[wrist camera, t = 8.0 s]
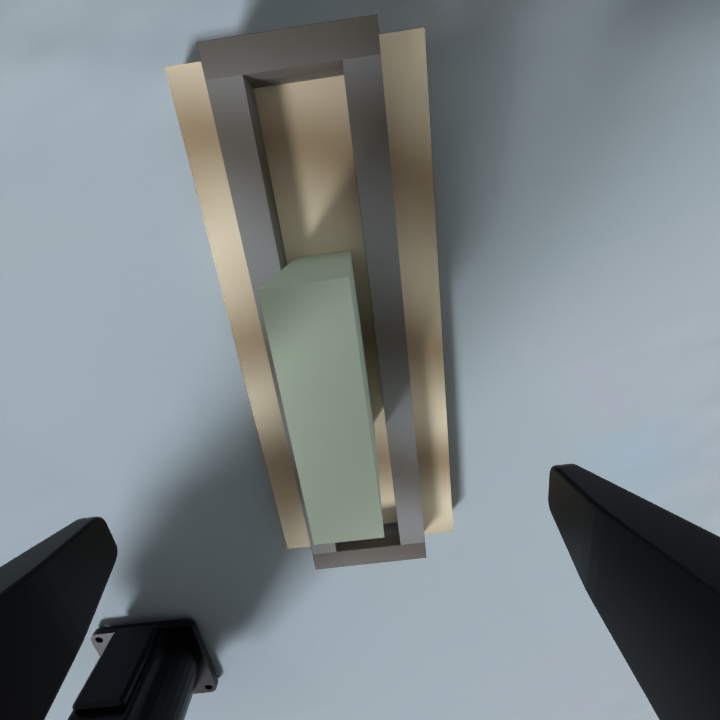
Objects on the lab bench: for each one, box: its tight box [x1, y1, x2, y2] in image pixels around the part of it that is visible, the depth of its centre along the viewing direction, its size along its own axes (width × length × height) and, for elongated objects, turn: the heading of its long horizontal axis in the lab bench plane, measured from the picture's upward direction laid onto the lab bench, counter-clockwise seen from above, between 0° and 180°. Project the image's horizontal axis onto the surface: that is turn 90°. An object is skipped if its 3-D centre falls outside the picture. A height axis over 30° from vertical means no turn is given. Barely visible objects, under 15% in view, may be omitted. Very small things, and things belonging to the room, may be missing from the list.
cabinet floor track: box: [165, 14, 453, 569], centre depth 17 cm, size 22×9×2 cm, turn 7°
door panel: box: [257, 250, 384, 545], centre depth 14 cm, size 8×2×7 cm, turn 7°
